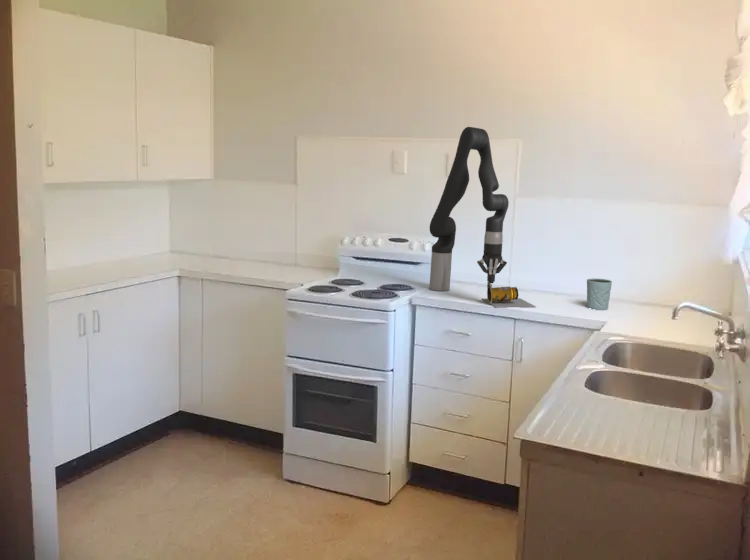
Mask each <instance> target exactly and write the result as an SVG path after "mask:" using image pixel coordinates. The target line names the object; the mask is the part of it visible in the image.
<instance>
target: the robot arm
mask: <svg viewBox="0 0 750 560" xmlns="http://www.w3.org/2000/svg"><path fill="white" fill-rule="evenodd" d="M491 149H492V148H491V143H490V138H489V134H488V131H487V130H485V129H484V128H481V127H474V126H473V127H472V126H467V127H465V128H464V129H463V130H462V131H461V134H460V136H459V141H458V144H457V148H456V152H455V156H454V159H453V163H452V166H451V169H450V171H449V174H448V177H447V179H446V182H445V186H444V189H443V191H442V194H441V198H440V200H439V202H438V205H437V207H436V209H435V212H434V214H433V216H432V218H431V220H430V222H429V233H430V235H431V236H432V237H434V238H437V240H436V242H435V243H433V245H431V246H432V247H431V256H430V274H429V275H430V276H429V290H431V291H439V292H446V291H447V292H448V291H450V288H451V275H452V274H451V272H452V258H453V257H452V255H453V249H454V247H455V241H456V234H457V233H456V231H457V224H456V220H455V219H454V218H453V217H451V216H450V215H451V213H452V211H453V210H454V208H455V207H456V205H457V204H459V202H460V201H461V199H462V198H463V197H464V195H465V193H466V190H467V189H468V185H469V182H470V173H469V168H468V158H469V156H470V152H471V151H473V150H475V151H477V153H478V155H479V157H480V163H479V167H478V172H477V173H478V174H477V175H478V179H479V182H480V185H481V189H482V190H481V191H482V206H483V208H484V209H485V210H486V211H487V212H494V214H493V215H492V216H489V217H487V218H486V220H485V232H484V240H483V254H482V257H481V259H479V260H477V262H476V263H477V264H478V266H479V268H480V269H481V270H482V271H483V272H484V274H486V275H487V277H486V279H487V280H486V281H487V282H488V283H490V284H494V282H496V279H495V278H496V274H500V272H501V271H502V270H503V269H504V267H506V265H507V264H508V262H507V261H505V260H504V259H503V256H502V254H503V241H504V240H503V238H504V237H503V236H504V235H503V231H504V220H505V217H506V216H507V215H506V214H507V212H508V208H509V203H510V202H509V198H508V197H507V195H506V194H503V193H499V194H497V193H494V192H496V191H497V190H498V189H499V187H500V184H499V181H498V178H497V175H496V172H495V167H494V163H493V158H492V151H491ZM484 264H485V265H484Z"/></svg>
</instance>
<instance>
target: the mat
mask: <svg viewBox="0 0 750 560" xmlns="http://www.w3.org/2000/svg"><path fill="white" fill-rule="evenodd" d="M481 300H482V301H483V302H486V303H487V304H488V305H490V306H492V307H493V308H496V309H497V308H498V309H499V308H501V309H504V308H505V309H506V308H507V307H520V308H537V306H536V305H533V304H532V303H530V302H528V301H526V300H524V299H522V298H519V297H518V299H516V300H515V299H514V300H511V301H500V302H492V304H491V303H489V302H488V301H487V298H481Z"/></svg>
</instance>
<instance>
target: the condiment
mask: <svg viewBox="0 0 750 560" xmlns="http://www.w3.org/2000/svg"><path fill="white" fill-rule="evenodd" d="M486 285H487V286H486V288H487V289H486V297H487V298H486V299H487V301H488V302H489V303H491V304H492V302H500V301H511V300H514V299H515V300H516V299H518V298H519V290H518V288H517V286H513V287H512V286H500V287H493V286H492V283H488V281H487V284H486Z"/></svg>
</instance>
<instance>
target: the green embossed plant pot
mask: <svg viewBox="0 0 750 560" xmlns="http://www.w3.org/2000/svg"><path fill="white" fill-rule="evenodd" d="M612 283H613V281H612V280H610V279H605V278H595V277H594V278H593V277H592V278H588V279H586V308H587V307H588V308H587V309H589V308H591V309H590V310H593V309H595V311H607V310H608V309H609V304H610V297H611V290H612Z"/></svg>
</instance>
